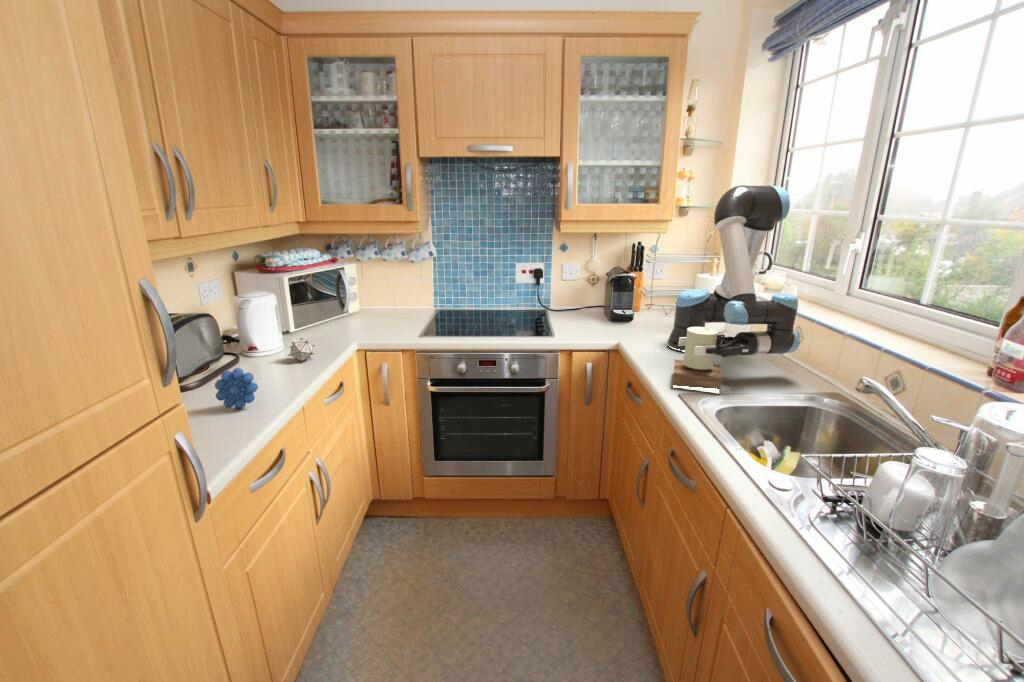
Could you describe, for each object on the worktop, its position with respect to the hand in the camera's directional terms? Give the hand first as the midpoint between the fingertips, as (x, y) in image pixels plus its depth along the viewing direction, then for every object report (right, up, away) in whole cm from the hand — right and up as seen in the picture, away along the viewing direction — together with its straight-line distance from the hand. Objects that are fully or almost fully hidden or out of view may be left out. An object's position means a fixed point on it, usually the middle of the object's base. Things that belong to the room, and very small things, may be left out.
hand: (687, 346), depth 148 cm
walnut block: (+4, -12, +5) cm, 14 cm away
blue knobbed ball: (-131, -17, -17) cm, 134 cm away
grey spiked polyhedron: (-131, -6, +21) cm, 133 cm away
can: (+4, -6, +3) cm, 8 cm away
